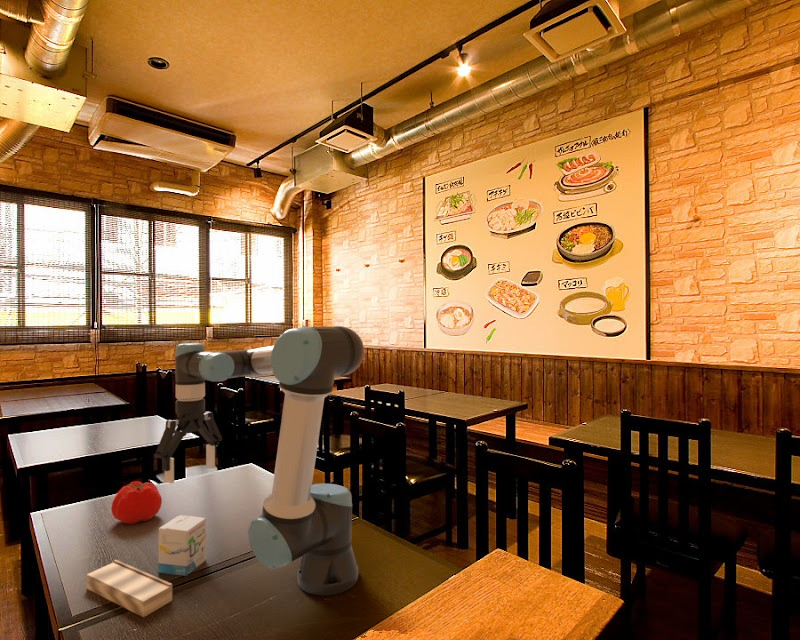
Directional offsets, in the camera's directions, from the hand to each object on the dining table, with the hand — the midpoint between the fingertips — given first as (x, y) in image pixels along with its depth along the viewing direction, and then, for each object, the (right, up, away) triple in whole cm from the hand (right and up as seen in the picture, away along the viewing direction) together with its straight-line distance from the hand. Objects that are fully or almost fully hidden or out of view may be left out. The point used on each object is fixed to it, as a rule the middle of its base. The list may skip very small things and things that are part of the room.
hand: (190, 474), depth 132 cm
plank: (-6, -22, -20) cm, 30 cm away
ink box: (+1, -22, -7) cm, 23 cm away
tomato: (-26, -21, +20) cm, 39 cm away
